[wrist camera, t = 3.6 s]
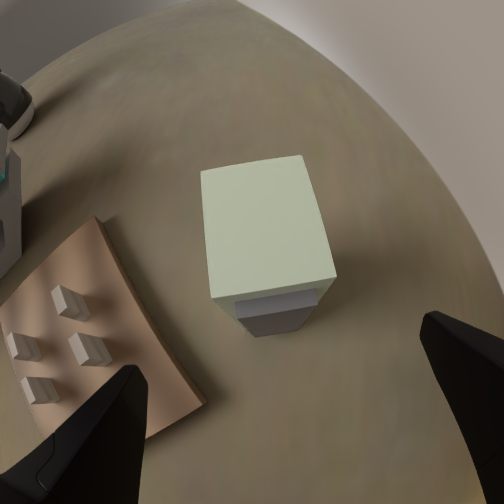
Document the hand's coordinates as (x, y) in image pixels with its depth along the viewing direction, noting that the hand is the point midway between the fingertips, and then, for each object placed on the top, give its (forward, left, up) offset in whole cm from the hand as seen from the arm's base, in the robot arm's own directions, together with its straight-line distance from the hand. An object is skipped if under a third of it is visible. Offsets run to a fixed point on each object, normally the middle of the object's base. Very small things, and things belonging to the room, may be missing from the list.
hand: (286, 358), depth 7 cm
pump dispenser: (+49, -27, -11) cm, 57 cm away
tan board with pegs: (+16, +4, -11) cm, 20 cm away
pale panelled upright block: (+1, -5, -11) cm, 12 cm away
